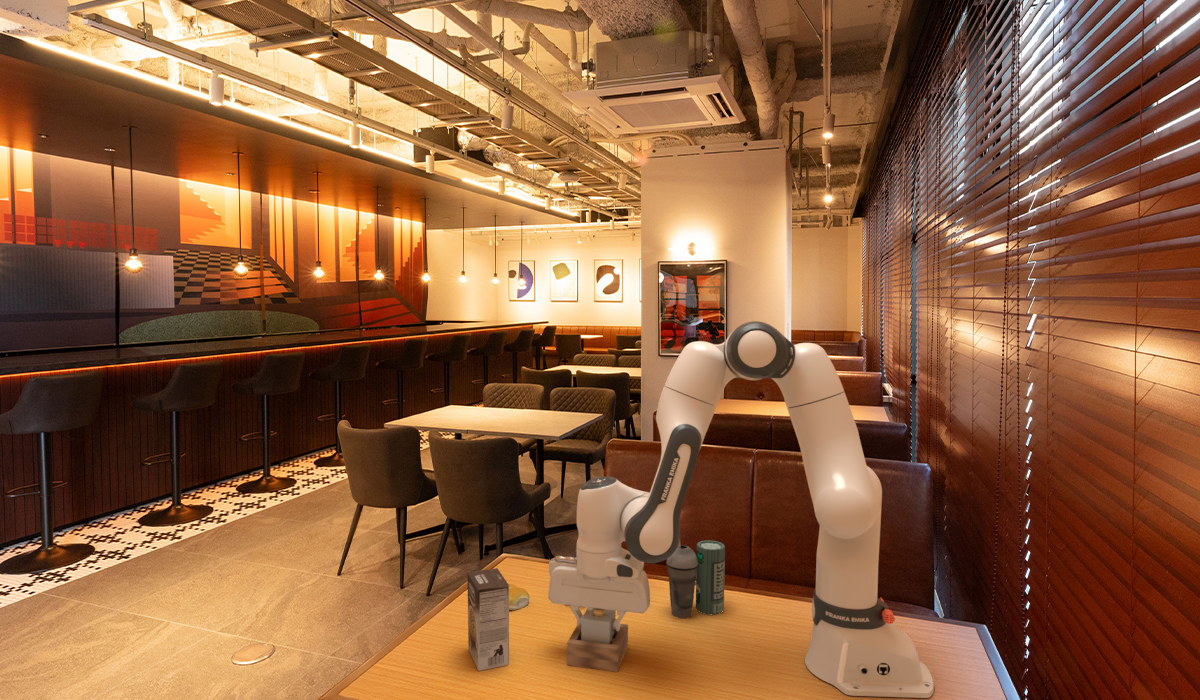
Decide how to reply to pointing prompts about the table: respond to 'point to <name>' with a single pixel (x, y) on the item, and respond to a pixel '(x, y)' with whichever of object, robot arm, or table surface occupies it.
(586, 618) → the lid
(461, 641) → the table surface
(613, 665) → the box
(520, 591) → the bread roll
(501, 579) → the coffee box
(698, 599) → the can
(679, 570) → the beverage cup
